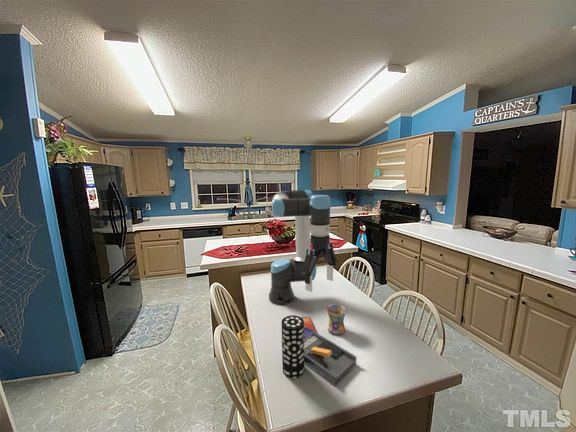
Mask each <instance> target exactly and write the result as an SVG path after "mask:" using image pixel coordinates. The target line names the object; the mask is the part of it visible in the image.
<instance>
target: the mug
mask: <svg viewBox="0 0 576 432" xmlns="http://www.w3.org/2000/svg"><path fill="white" fill-rule="evenodd" d="M326 312H327V314H328V324H327V326H326V327H327V330H328V332H329V333H331V334H333V335H342V334H343V333H345V331H346V327H345V324H344V322H345V316H346V314H347V308H346V307H345V306H343V305H342V304H334V303H333V304H330V305H328V306H327V307H326Z"/></svg>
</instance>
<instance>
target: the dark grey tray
mask: <svg viewBox="0 0 576 432" xmlns="http://www.w3.org/2000/svg"><path fill="white" fill-rule="evenodd" d="M316 332H317V331H316ZM316 332H314V331H312V334H311V335H309V336H308V337H307V338H304V365H306V366H307V367H308V368H310V369H311V370H312V371H314V373H316V374H318V375H319V376H320V377H322V379H325V380H326V381H327V382H329V383H330V384H331V385H333V386H334V387H336V386H337V385H338V384H339V383H340V382H341V381H342V380H343V379H344V378H345V377H346V376H347V375H348V374H349V373H350V371H352V370H353V369H354V367H356V365H357V356H356V355H355V354H353V353H351V352H349V351H348V350H347V349H344V348H342V347H341V346H340V345H338V344H336V343H334V342H332V341H331V340H329V339H328V338H327V337H324V336H322V335H321V334H319V333H318V332H317V333H316ZM313 347H318V348H323V349H327V350H331V351H332V355H331V356H330V357H325V356H321V355H317V354H313V353H311V349H312V348H313Z"/></svg>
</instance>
